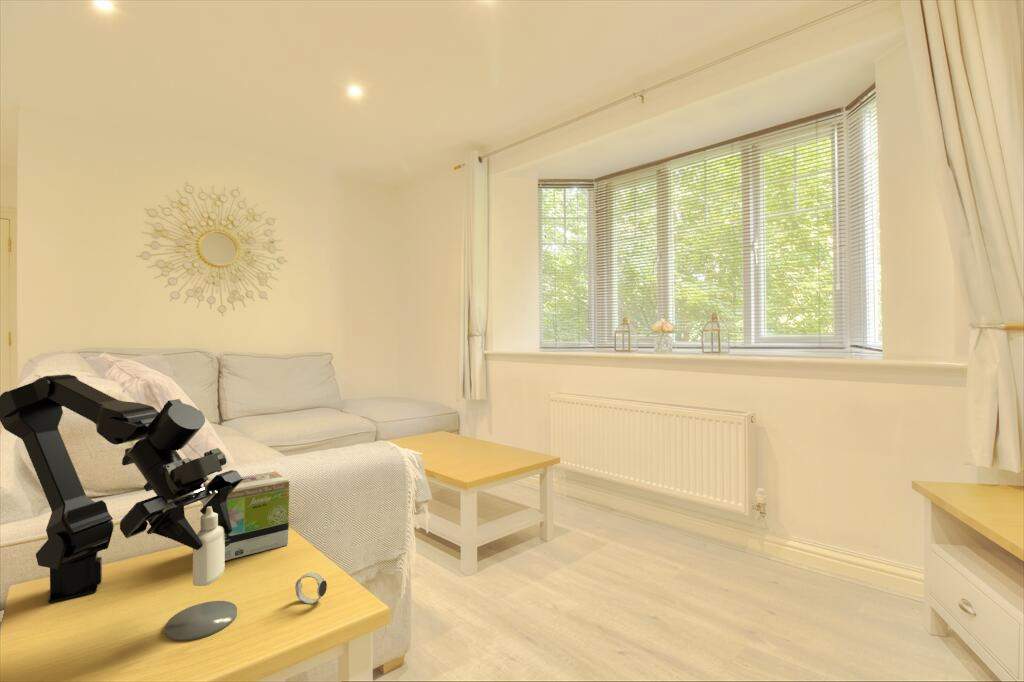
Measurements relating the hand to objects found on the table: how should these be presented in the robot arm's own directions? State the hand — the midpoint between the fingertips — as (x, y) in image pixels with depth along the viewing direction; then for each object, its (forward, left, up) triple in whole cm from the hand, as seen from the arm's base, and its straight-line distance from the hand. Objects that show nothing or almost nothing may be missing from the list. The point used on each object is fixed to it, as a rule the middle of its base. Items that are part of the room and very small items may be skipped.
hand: (215, 540), depth 81 cm
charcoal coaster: (-2, 0, -13) cm, 13 cm away
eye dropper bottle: (-1, +1, -7) cm, 7 cm away
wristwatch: (+14, -4, -13) cm, 20 cm away
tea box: (+8, +26, -13) cm, 31 cm away
